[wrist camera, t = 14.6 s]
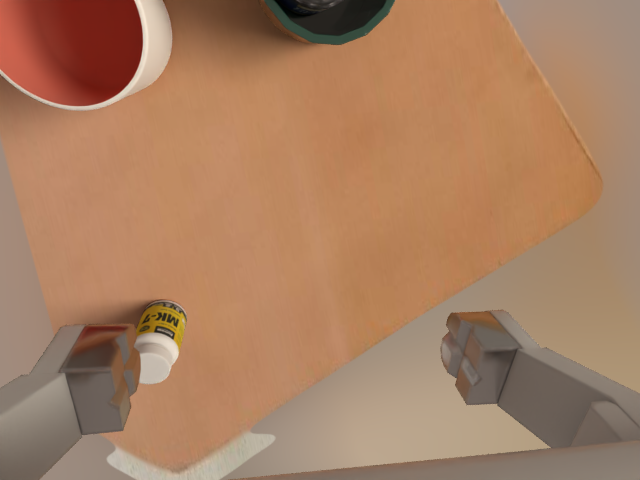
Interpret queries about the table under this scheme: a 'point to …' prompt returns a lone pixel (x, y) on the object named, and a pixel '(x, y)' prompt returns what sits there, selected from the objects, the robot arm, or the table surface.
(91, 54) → the cup
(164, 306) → the supplement bottle
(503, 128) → the table surface
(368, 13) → the green cup
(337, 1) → the pill bottle
